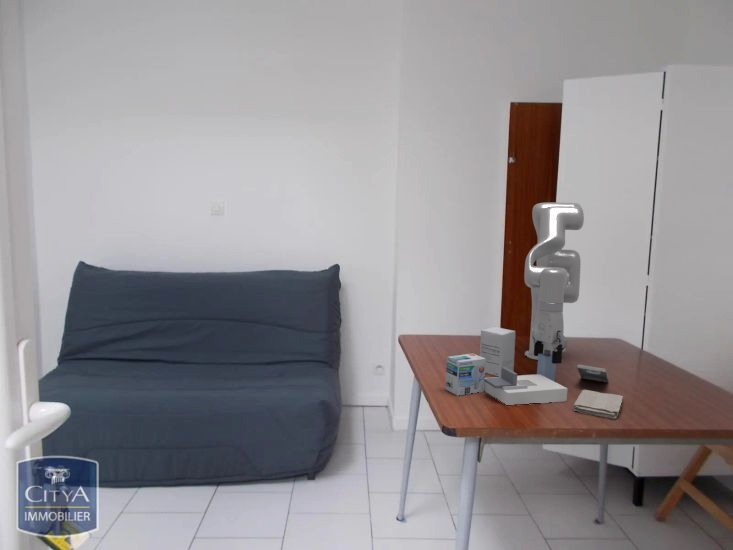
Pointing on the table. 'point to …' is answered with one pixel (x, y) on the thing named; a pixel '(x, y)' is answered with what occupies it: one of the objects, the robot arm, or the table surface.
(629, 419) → the table surface
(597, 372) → the light switch
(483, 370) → the light bulb box
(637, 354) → the table surface
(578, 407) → the washcloth
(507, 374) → the block
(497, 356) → the supplement box
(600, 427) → the table surface
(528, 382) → the socket block
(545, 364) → the plug
